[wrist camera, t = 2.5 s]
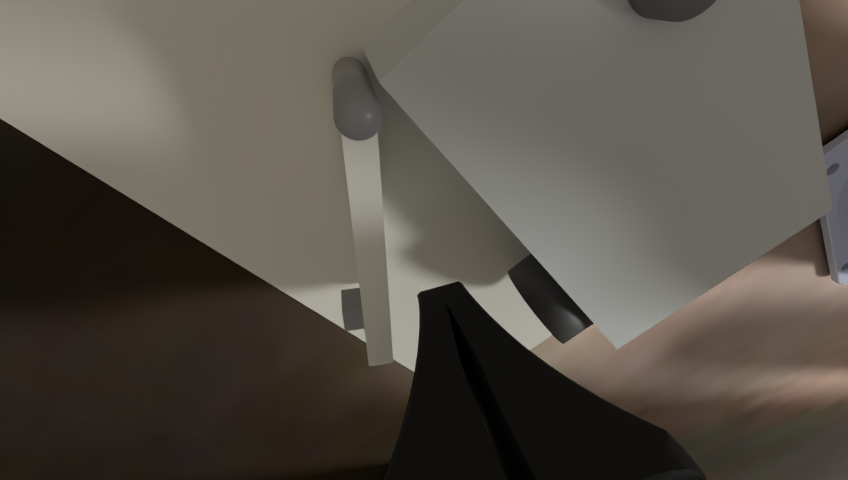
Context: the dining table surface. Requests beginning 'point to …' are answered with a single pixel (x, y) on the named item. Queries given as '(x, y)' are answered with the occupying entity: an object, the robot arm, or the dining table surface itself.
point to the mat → (255, 144)
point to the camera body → (618, 140)
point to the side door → (364, 206)
